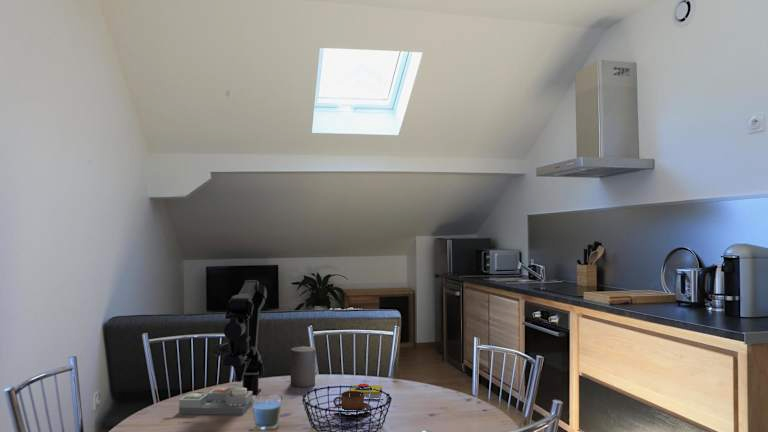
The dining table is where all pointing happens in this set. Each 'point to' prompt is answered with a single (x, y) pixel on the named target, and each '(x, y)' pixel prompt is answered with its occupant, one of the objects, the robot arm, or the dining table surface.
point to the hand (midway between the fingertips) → (239, 381)
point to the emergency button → (368, 390)
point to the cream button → (239, 391)
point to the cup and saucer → (352, 401)
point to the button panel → (216, 403)
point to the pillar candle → (302, 366)
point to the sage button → (194, 396)
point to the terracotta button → (221, 390)
